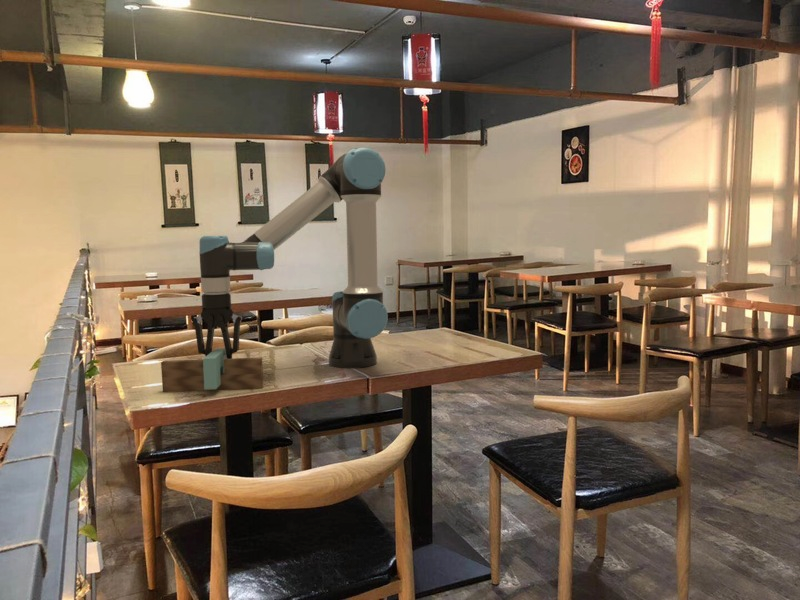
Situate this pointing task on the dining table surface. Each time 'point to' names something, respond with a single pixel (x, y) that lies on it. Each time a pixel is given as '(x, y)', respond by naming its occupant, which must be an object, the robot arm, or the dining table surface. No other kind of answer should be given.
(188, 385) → the walnut board
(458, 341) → the dining table surface
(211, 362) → the teal green block
